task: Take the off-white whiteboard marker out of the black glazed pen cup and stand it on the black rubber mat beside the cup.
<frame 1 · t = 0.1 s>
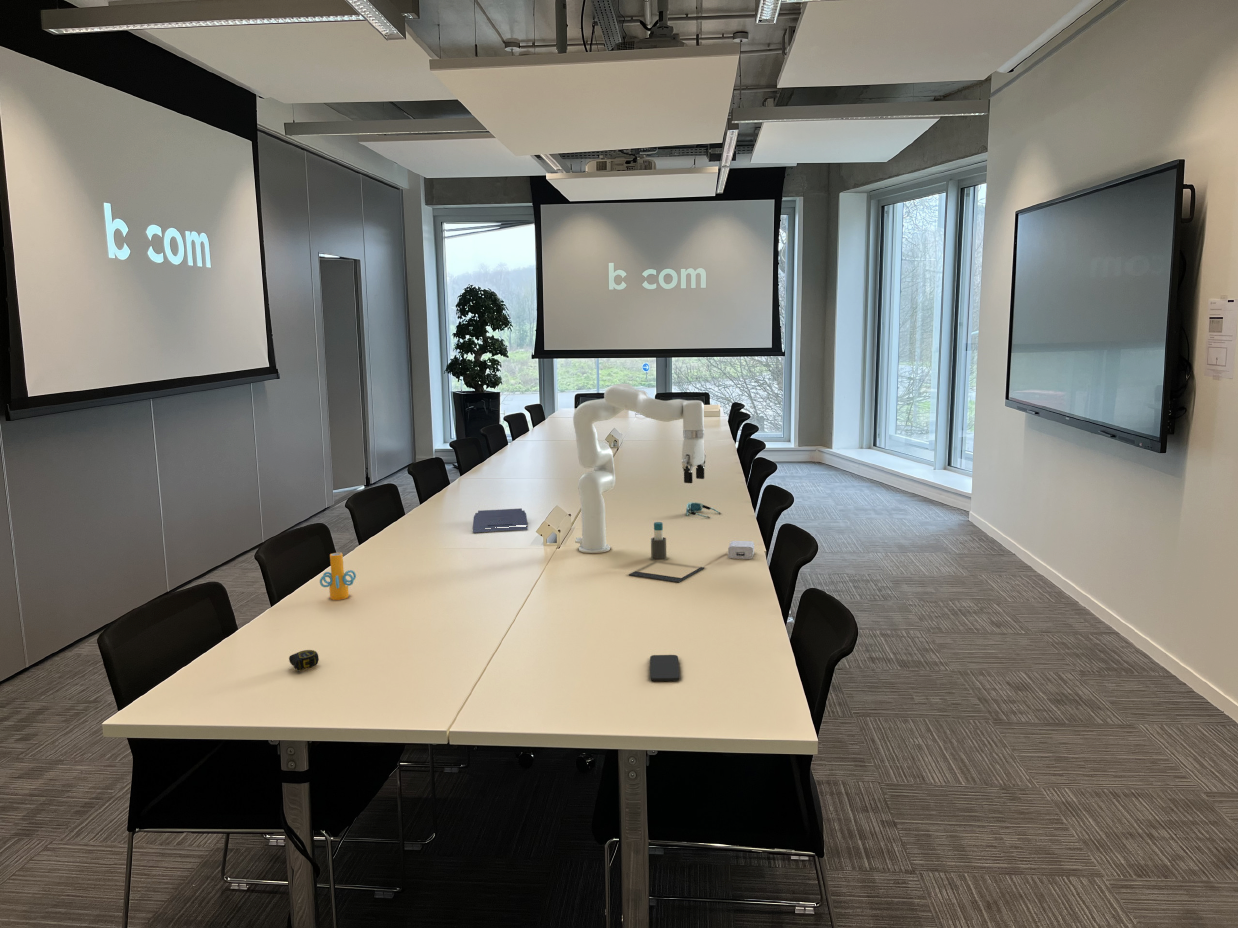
hand: (694, 480, 312), 31 cm above the table, tool pointing down, fingers open, 9 cm apart
tape measure: (303, 668, 225), on the table
charger: (741, 554, 328), on the table
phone: (664, 669, 218), on the table
marker: (658, 557, 323), point 1 cm above the table, touching pen cup
cylinder: (339, 597, 286), on the table
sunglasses: (701, 514, 400), on the table
mat: (666, 571, 306), on the table
pen cup: (658, 559, 324), on the table
dark grey flat slab: (500, 525, 389), on the table
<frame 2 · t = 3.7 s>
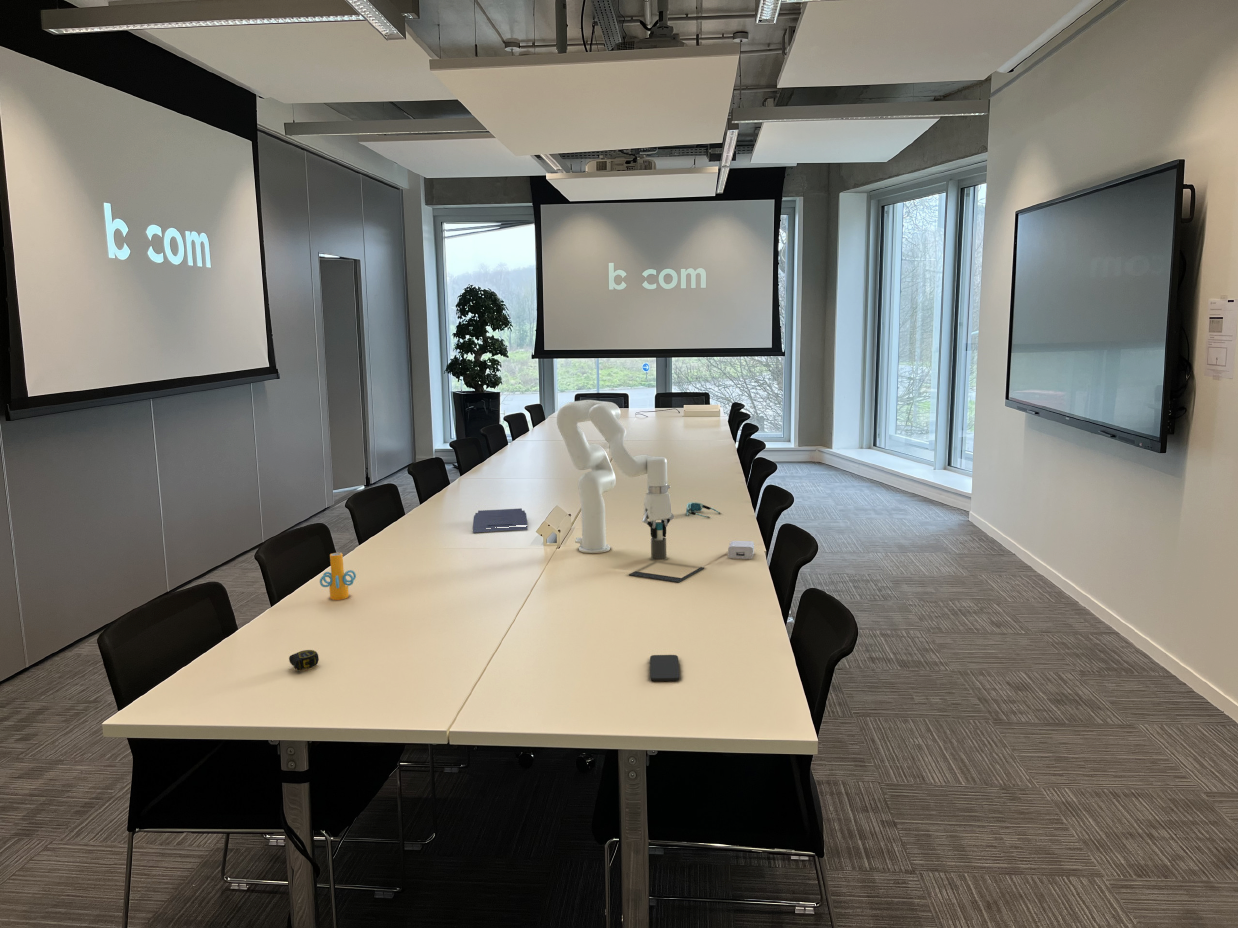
hand: (658, 536, 322), 9 cm above the table, tool pointing down, fingers closed on marker, 3 cm apart
marker: (658, 557, 323), point 1 cm above the table, touching gripper, pen cup
everything else where it was.
when the fingers open (9 cm above the table, at t = 11.5 s): marker stays where it is, resting on mat.
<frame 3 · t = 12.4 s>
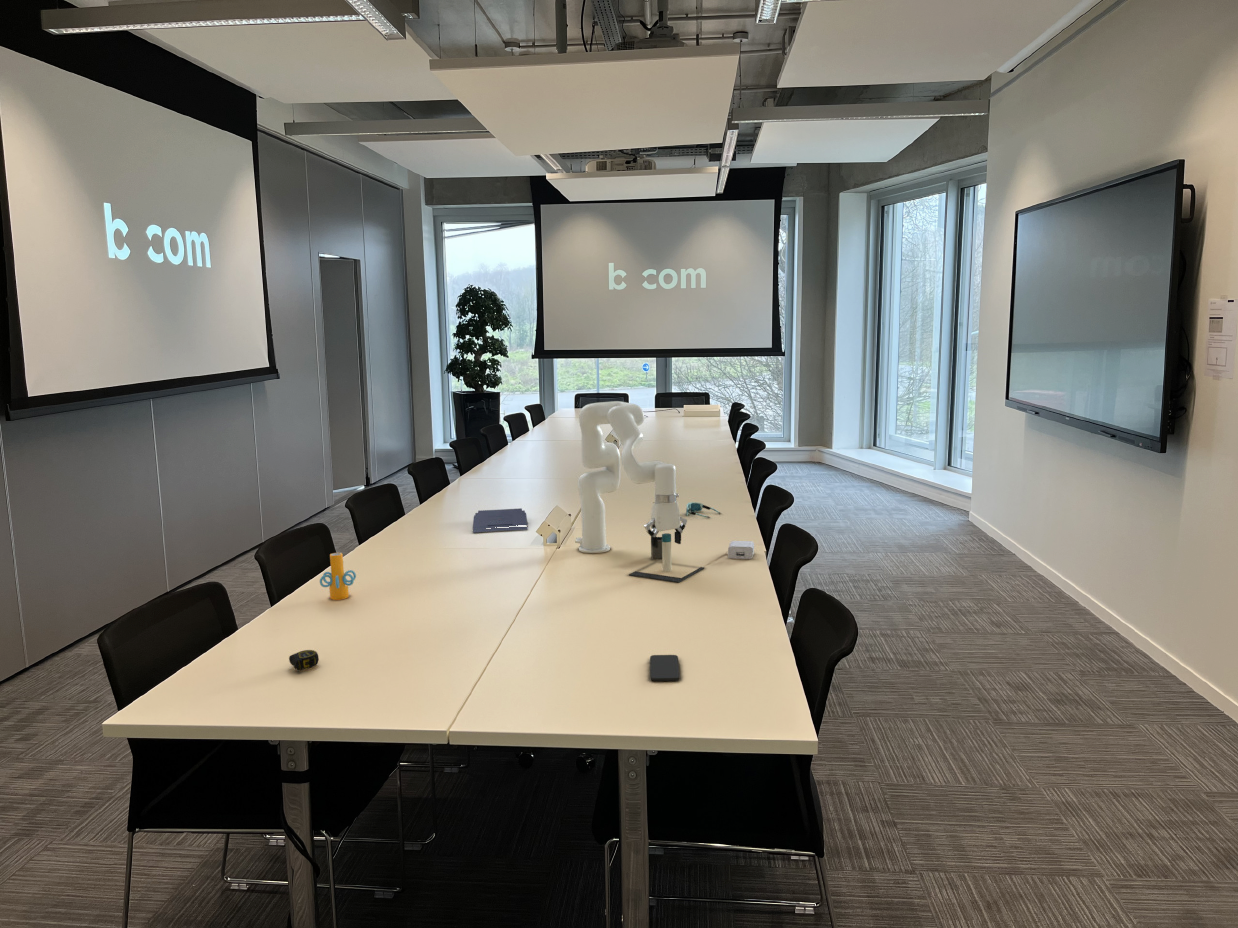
hand: (666, 545, 305), 10 cm above the table, tool pointing down, fingers open, 9 cm apart
marker: (667, 570, 306), resting on mat
everything else where it was.
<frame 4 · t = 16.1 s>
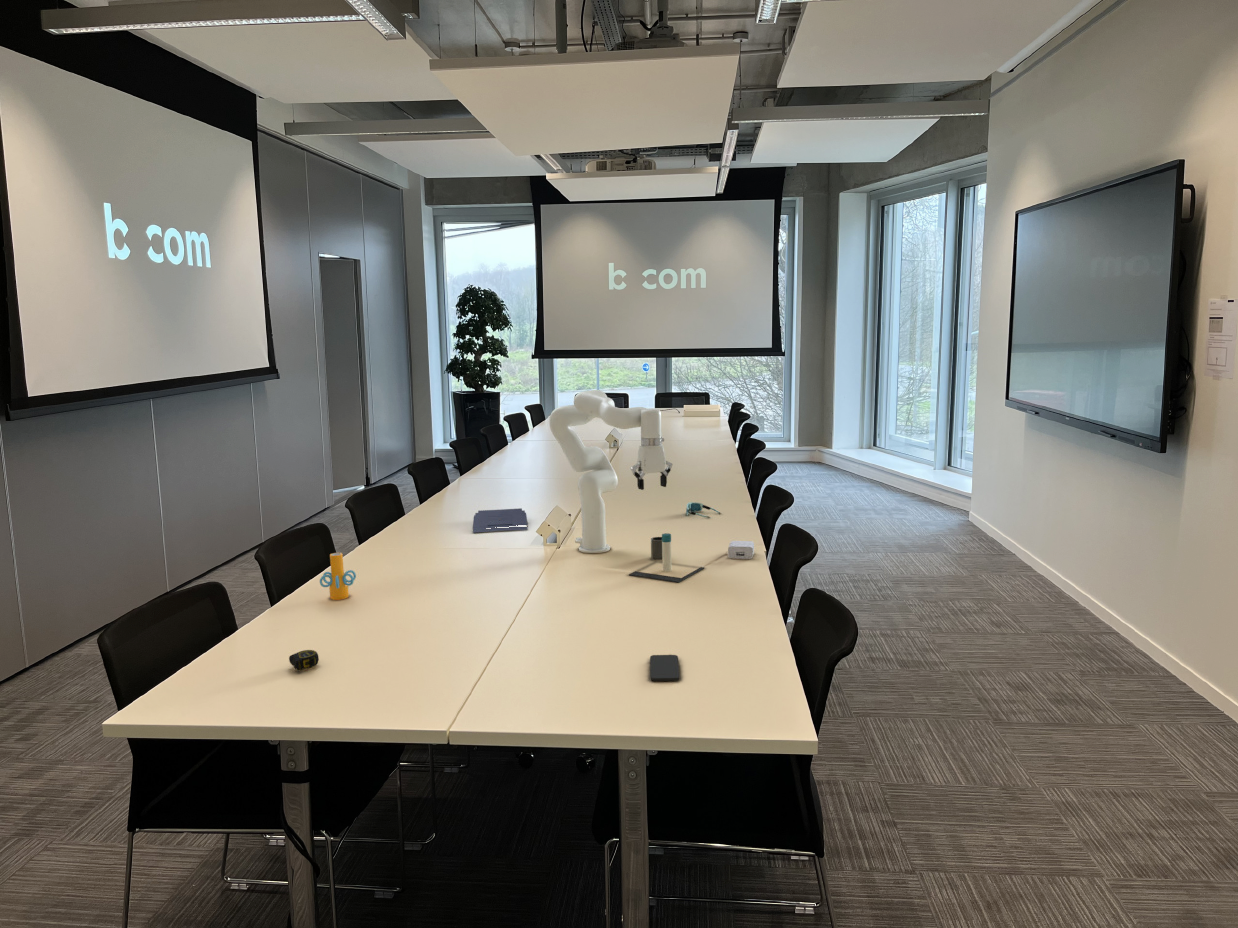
hand: (652, 487, 316), 28 cm above the table, tool pointing down, fingers open, 9 cm apart
nothing on the table moved.
at the end: marker inside the target area on the mat (0.1 cm from its centre), point 0.4 cm above the mat's base; the gripper is holding nothing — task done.
